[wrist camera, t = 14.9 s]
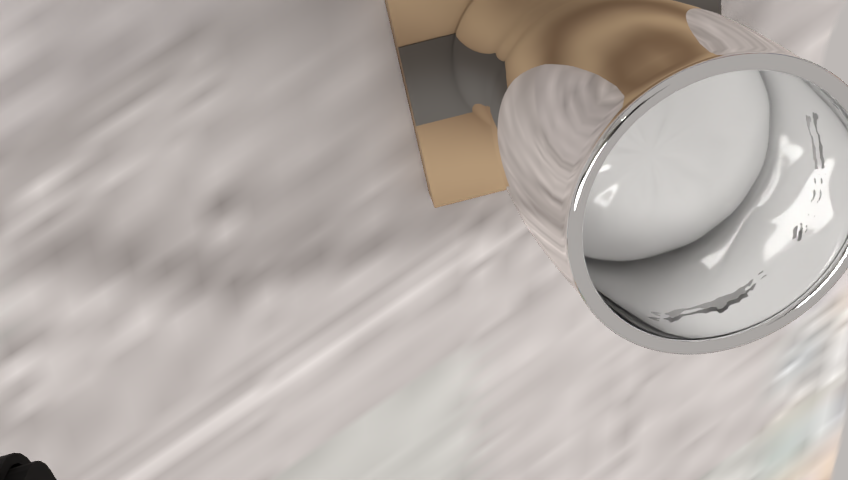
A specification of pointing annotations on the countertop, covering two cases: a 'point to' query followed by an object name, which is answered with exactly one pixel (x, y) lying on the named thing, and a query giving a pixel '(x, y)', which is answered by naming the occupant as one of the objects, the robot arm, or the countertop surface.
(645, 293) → the beer glass
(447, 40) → the oak board
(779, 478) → the countertop surface
